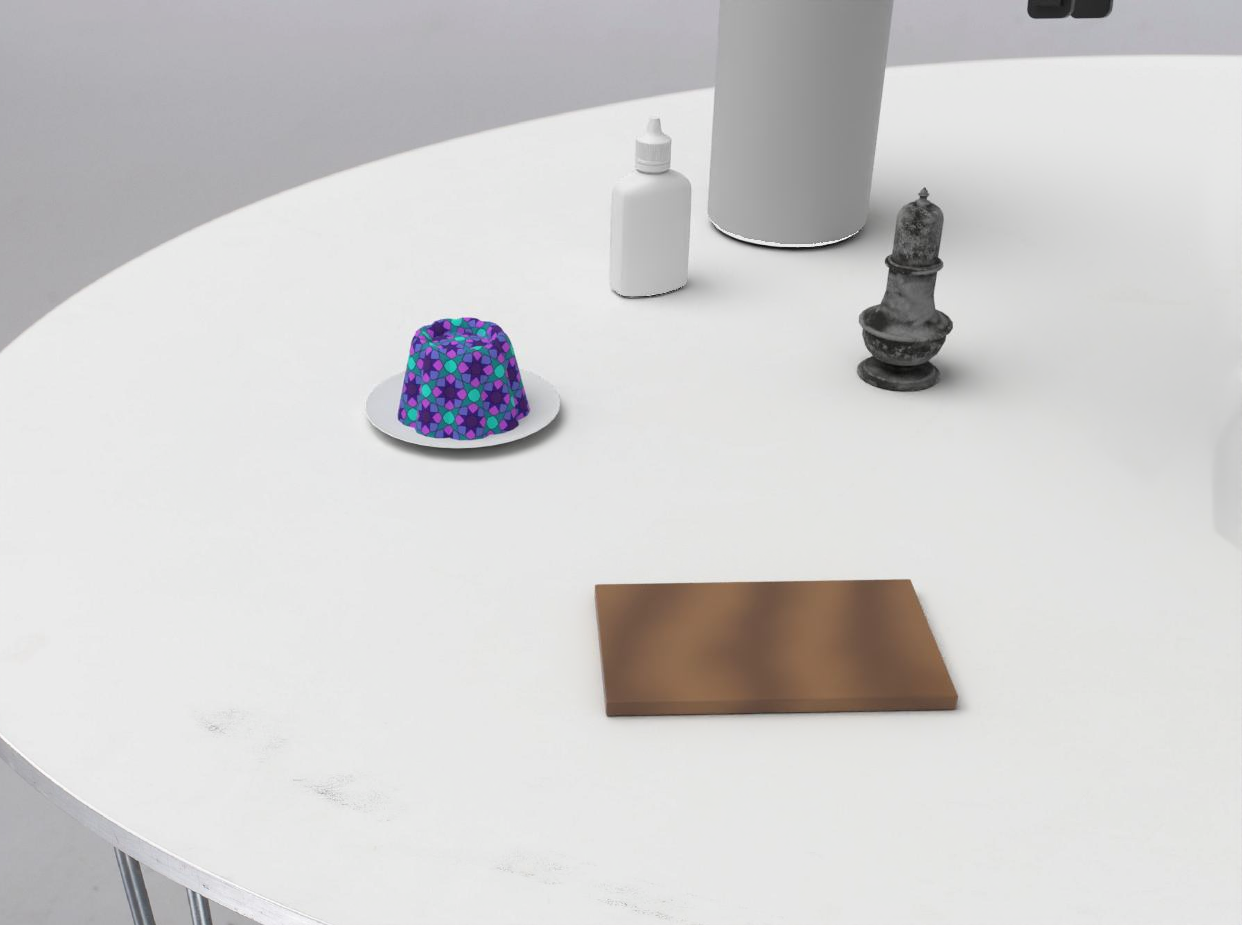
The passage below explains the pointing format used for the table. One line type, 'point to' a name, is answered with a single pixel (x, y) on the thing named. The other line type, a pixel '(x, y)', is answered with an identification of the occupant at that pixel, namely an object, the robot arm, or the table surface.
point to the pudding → (462, 390)
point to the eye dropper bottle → (650, 221)
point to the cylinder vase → (796, 117)
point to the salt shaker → (908, 306)
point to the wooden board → (768, 648)
